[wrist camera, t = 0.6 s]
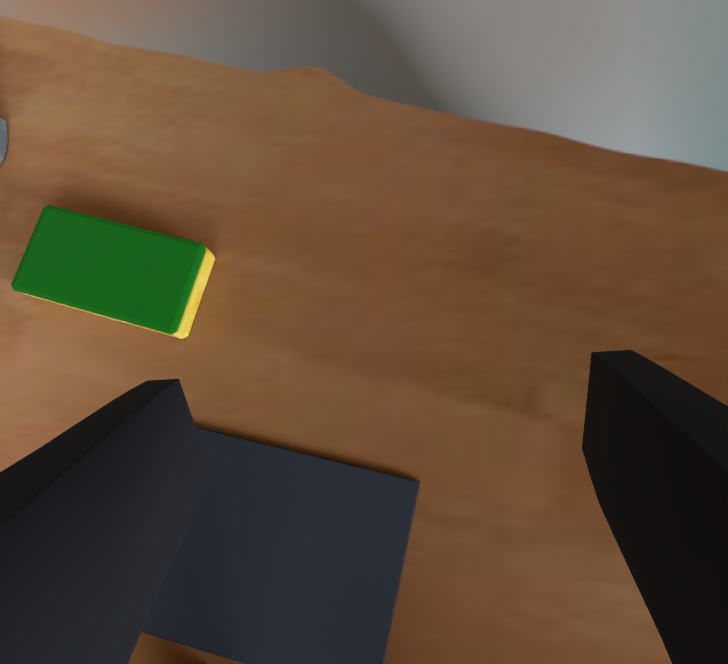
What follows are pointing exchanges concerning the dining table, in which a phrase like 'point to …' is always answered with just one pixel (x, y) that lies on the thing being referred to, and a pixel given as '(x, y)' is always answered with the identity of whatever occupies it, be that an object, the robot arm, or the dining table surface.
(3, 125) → the coffeepot
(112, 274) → the dish sponge
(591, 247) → the dining table surface
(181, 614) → the mat
